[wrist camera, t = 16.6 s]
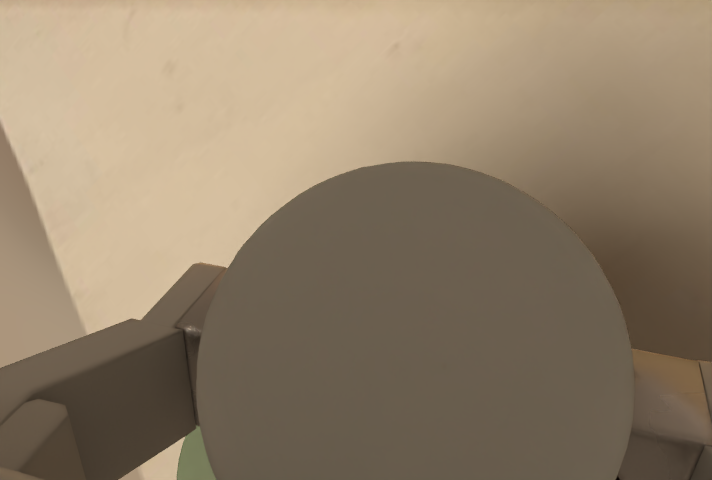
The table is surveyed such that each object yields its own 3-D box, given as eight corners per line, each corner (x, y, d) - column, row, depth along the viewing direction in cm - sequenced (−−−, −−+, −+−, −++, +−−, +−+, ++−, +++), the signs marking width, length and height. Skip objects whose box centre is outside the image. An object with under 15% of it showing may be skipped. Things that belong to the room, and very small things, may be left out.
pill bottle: (600, 330, 14) (761, 208, 6) (521, 561, 13) (582, 792, 5) (385, 252, 15) (275, 64, 7) (302, 459, 14) (69, 510, 6)
